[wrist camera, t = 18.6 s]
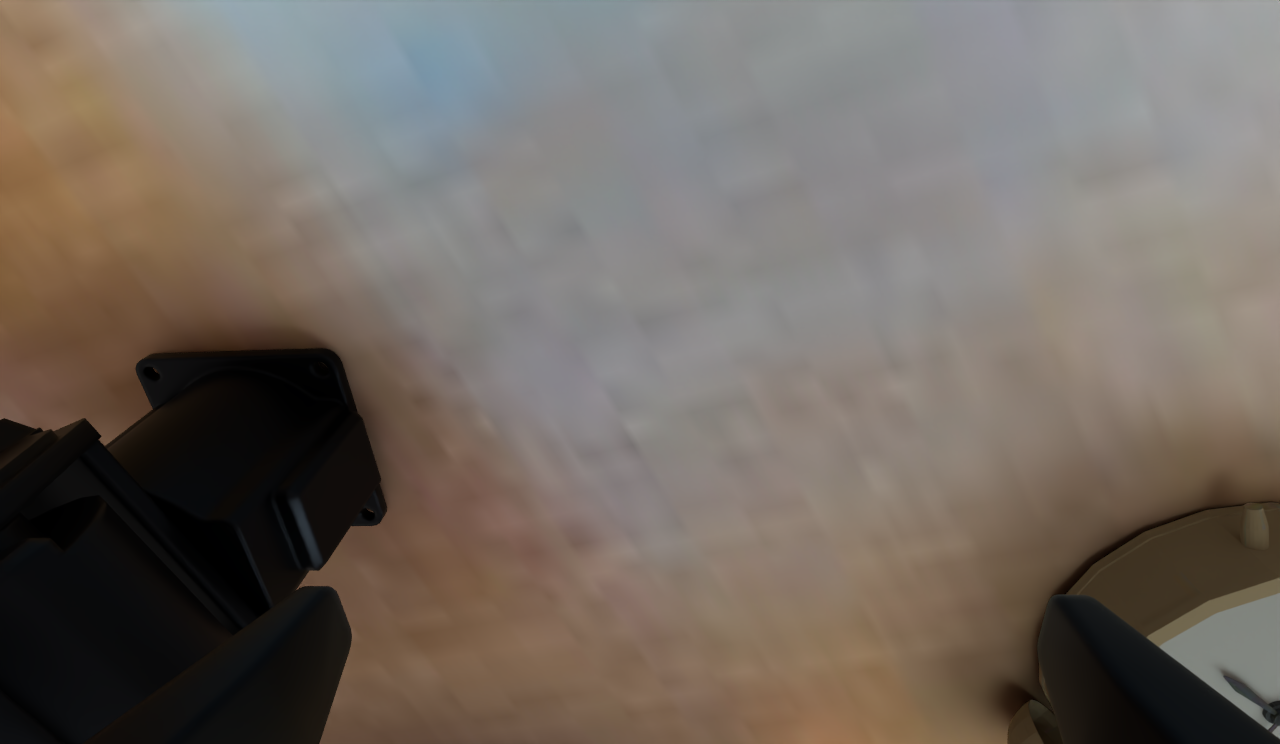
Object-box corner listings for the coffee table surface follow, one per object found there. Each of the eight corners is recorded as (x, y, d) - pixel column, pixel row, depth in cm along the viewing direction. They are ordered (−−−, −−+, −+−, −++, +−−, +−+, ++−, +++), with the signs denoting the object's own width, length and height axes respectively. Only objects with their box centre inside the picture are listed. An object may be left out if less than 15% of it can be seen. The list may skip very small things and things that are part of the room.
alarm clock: (1629, 623, 19) (1305, 990, 24) (1438, 524, 23) (1200, 847, 28) (1229, 512, 18) (980, 910, 23) (1115, 434, 23) (929, 778, 28)
